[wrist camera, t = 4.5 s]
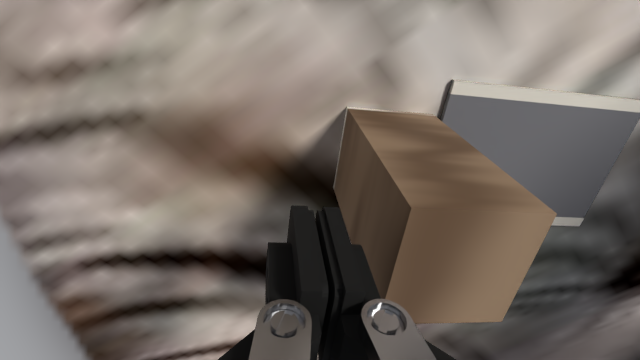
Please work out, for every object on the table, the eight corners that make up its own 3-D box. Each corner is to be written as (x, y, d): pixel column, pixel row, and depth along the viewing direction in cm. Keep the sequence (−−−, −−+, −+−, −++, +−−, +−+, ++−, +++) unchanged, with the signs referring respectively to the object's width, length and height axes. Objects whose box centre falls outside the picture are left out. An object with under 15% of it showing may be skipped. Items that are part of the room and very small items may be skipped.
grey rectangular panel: (644, 99, 22) (649, 101, 21) (576, 223, 26) (579, 226, 26) (452, 79, 20) (454, 80, 19) (411, 218, 24) (413, 221, 23)
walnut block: (433, 114, 20) (557, 213, 12) (411, 191, 23) (501, 321, 14) (346, 106, 20) (411, 208, 11) (333, 187, 22) (378, 324, 13)
